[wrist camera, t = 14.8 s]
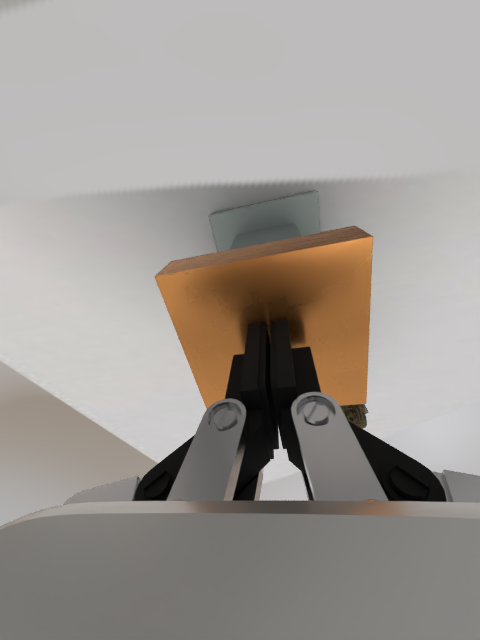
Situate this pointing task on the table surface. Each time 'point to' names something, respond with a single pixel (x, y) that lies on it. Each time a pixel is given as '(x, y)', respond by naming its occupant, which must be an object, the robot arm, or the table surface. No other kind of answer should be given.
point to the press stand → (266, 221)
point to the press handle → (277, 307)
